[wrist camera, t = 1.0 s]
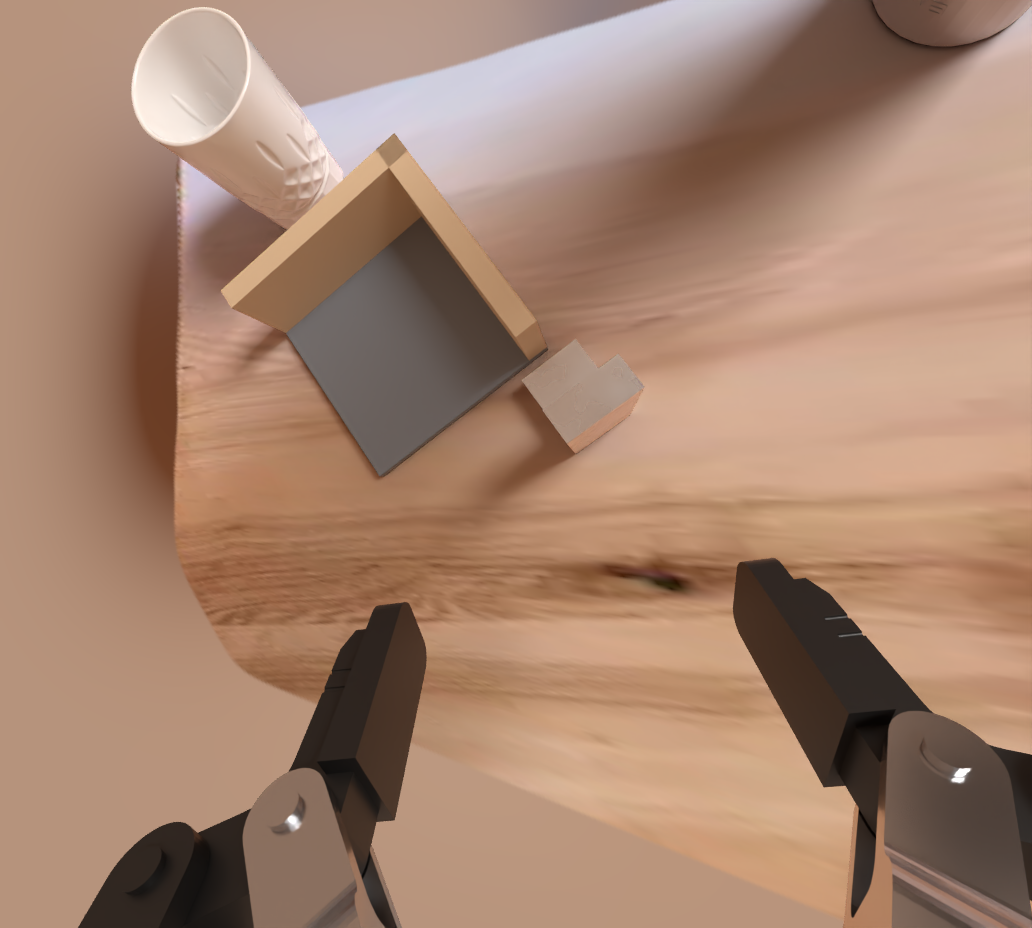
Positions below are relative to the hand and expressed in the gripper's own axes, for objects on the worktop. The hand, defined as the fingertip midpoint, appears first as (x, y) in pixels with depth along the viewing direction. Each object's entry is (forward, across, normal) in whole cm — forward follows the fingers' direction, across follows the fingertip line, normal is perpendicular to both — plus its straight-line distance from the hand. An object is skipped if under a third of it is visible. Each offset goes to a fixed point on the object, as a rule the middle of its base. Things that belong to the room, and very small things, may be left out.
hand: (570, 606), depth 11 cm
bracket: (+20, -2, +3) cm, 21 cm away
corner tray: (+25, +9, -3) cm, 27 cm away
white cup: (+32, +16, -13) cm, 38 cm away
